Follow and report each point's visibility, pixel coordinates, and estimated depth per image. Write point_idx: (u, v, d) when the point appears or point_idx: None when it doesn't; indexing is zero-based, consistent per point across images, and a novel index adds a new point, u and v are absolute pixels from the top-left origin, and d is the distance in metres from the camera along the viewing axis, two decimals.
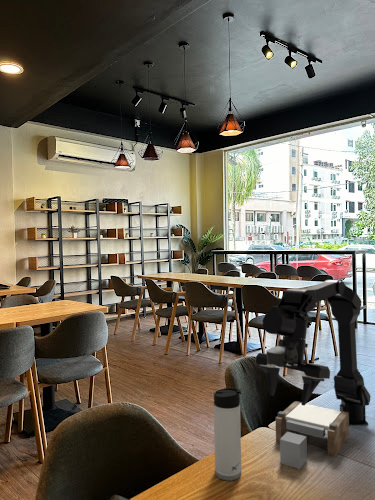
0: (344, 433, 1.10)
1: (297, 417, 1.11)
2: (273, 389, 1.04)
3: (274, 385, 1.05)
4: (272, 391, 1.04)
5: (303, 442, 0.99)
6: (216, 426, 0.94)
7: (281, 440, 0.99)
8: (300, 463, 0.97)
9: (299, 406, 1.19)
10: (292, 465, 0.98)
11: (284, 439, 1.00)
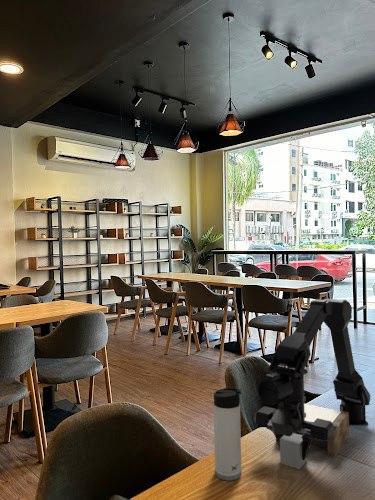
0: (344, 433, 1.10)
1: None
2: None
3: None
4: None
5: None
6: (216, 426, 0.94)
7: (281, 440, 0.99)
8: (300, 463, 0.97)
9: None
10: (292, 465, 0.98)
11: (284, 439, 1.00)
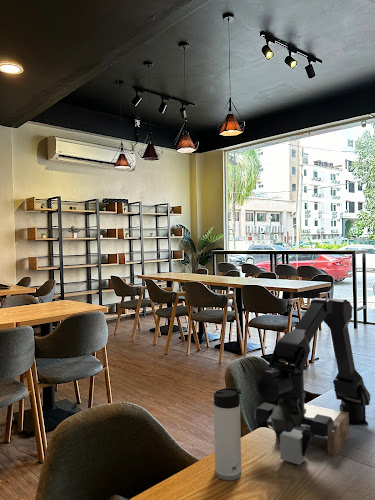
0: (344, 433, 1.10)
1: None
2: None
3: None
4: None
5: None
6: (216, 426, 0.94)
7: (281, 436, 1.00)
8: (300, 459, 0.97)
9: None
10: (292, 461, 0.98)
11: (284, 435, 1.00)
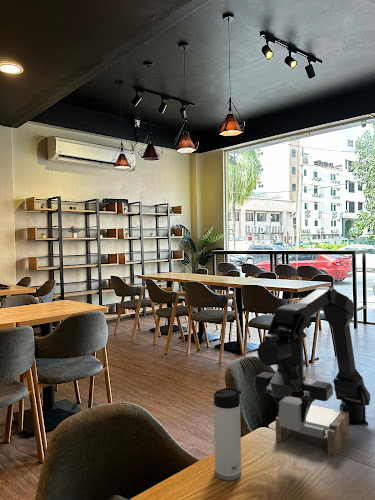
0: (344, 433, 1.10)
1: None
2: None
3: None
4: None
5: None
6: (216, 426, 0.94)
7: (280, 402, 1.00)
8: (299, 425, 0.97)
9: None
10: (291, 427, 0.98)
11: (283, 401, 1.00)
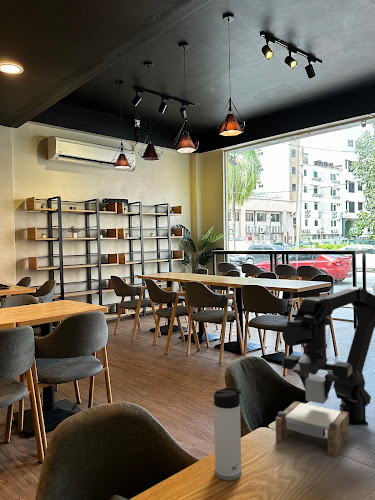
0: (344, 433, 1.10)
1: (297, 417, 1.11)
2: None
3: None
4: None
5: None
6: (216, 426, 0.94)
7: (306, 380, 1.15)
8: (323, 399, 1.12)
9: (299, 406, 1.19)
10: (316, 401, 1.13)
11: (309, 379, 1.15)
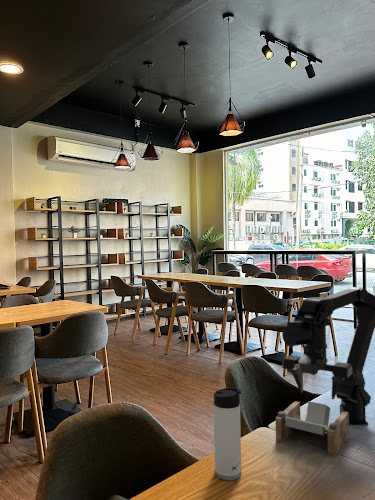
0: (344, 433, 1.10)
1: (297, 419, 1.11)
2: (301, 387, 1.19)
3: (302, 383, 1.19)
4: (301, 389, 1.18)
5: (328, 408, 1.16)
6: (216, 426, 0.94)
7: (309, 402, 1.17)
8: (323, 422, 1.13)
9: None
10: (316, 423, 1.13)
11: (312, 402, 1.17)
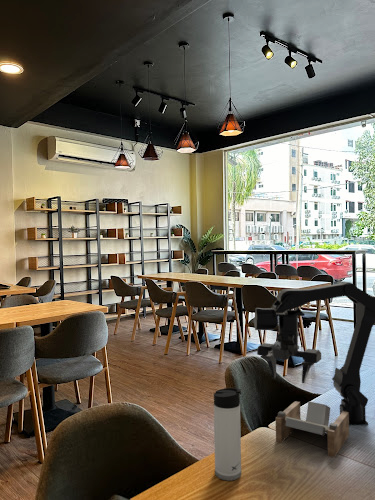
0: (344, 433, 1.10)
1: (297, 419, 1.11)
2: (275, 372, 1.26)
3: (275, 368, 1.27)
4: (274, 374, 1.26)
5: (328, 408, 1.16)
6: (216, 426, 0.94)
7: (309, 402, 1.17)
8: (323, 422, 1.13)
9: None
10: (316, 423, 1.13)
11: (312, 402, 1.17)
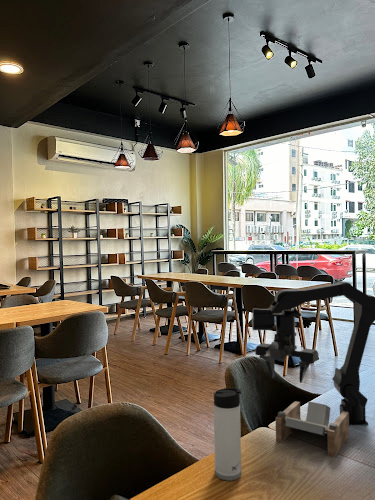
0: (344, 433, 1.10)
1: (297, 419, 1.11)
2: (273, 372, 1.28)
3: (273, 368, 1.28)
4: (272, 374, 1.27)
5: (328, 408, 1.16)
6: (216, 426, 0.94)
7: (310, 402, 1.17)
8: (324, 422, 1.13)
9: None
10: None
11: (312, 402, 1.17)
